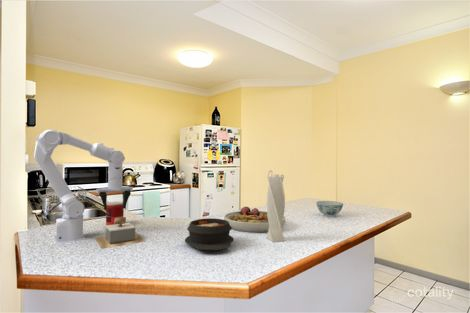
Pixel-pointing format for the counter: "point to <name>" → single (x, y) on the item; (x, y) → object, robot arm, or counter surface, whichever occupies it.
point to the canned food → (114, 212)
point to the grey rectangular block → (120, 233)
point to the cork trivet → (104, 243)
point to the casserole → (209, 234)
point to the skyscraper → (275, 207)
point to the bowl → (249, 220)
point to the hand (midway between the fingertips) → (114, 208)
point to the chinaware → (329, 208)
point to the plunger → (120, 221)
